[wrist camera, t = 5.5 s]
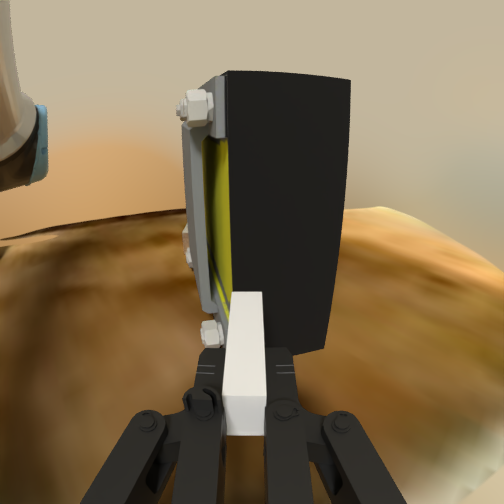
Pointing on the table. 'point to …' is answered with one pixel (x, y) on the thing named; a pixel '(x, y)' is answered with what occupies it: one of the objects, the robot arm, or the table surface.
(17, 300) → the table surface
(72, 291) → the table surface
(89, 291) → the table surface
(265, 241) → the electrical component
